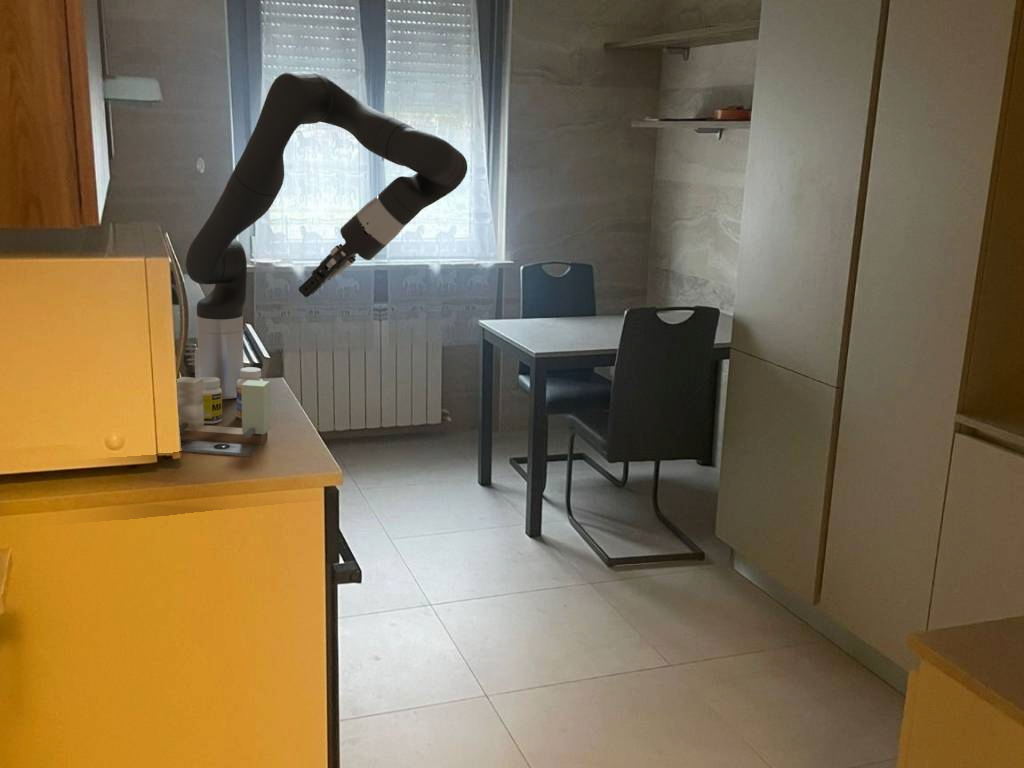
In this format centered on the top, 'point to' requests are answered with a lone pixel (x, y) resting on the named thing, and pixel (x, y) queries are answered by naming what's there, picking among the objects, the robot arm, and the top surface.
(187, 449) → the hole plate
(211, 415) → the supplement bottle
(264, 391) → the slide leg
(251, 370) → the pill bottle
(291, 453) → the top surface
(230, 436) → the rail
